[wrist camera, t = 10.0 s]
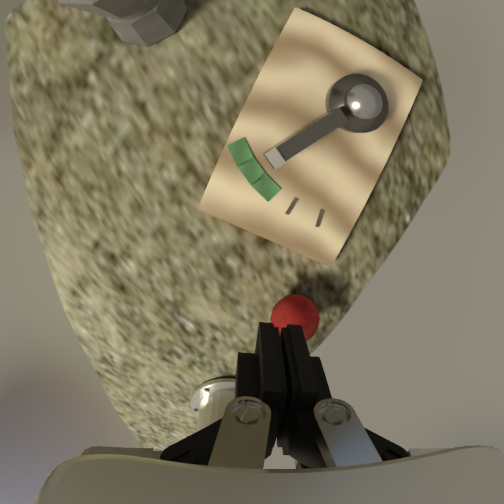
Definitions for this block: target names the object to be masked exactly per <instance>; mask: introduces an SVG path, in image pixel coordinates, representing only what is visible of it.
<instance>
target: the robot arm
mask: <svg viewBox="0 0 504 504" xmlns="http://www.w3.org/2000/svg"><path fill="white" fill-rule="evenodd" d="M190 404H191V409H192V412H193V414H194V415H195V416H196V418H198V420H197V426H196V432H195V433H194V434H192V435H190V436H188V437H186V438H184V439H183V440H181V441H179V442H177V443H175V444H173V445H171V446H169V447H168V448H166V449H165V450H164V451H153V448H120V447H118V448H117V447H103V446H96V447H90V448H88V449H86V450H85V451H84V452H83V453H82V454H81V456H77V457H72V458H70V459H67V460H65V461H63V462H61V463H60V464H58V465H57V466H56V467H55V468H54V470H53V471H52V472H51V473H50V475H49V476H48V477H47V479H46V481H45V482H44V484H43V486H42V487H41V489H40V491H39V493H38V495H37V497H36V499H35V501H34V504H504V452H503V451H501V450H500V449H497V448H494V447H490V446H480V445H476V446H462V447H455V448H443V449H409V450H408V451H405V449H403V448H402V447H400V446H398V445H396V444H395V443H393V442H390V441H389V440H387V439H385V438H383V437H381V436H379V435H377V434H375V433H373V432H371V431H370V430H368V429H366V428H364V427H363V425H362V423H361V422H360V420H359V418H358V416H357V414H356V412H355V411H354V409H353V408H352V407H351V405H349V404H348V403H346V402H344V401H342V400H339V399H332V397H331V394H330V390H329V386H328V383H327V380H326V377H325V373H324V370H323V367H322V363H321V360H320V358H319V357H310V355H309V351H308V347H307V343H306V340H305V336H304V332H303V329H302V326H301V325H295V324H287V326H286V327H282V329H281V334H280V335H279V328H278V327H274V324H273V323H265V322H259V327H258V334H257V342H256V349H255V354H253V353H240V352H238V358H237V368H236V379H233V378H220V379H214V380H211V381H208V382H205V383H203V384H202V385H200V386H199V387H198V388H196V390H195V391H194V392H193V394H192V397H191V403H190ZM276 437H277V446H278V447H282V448H283V455H290V456H291V457H293V458H294V459H296V460H295V467H296V469H263V466H264V460H265V459H266V458H267V457H268V456H270V455H271V452H272V449H273V447H274V444H275V441H276Z"/></svg>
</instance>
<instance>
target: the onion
mask: <svg viewBox="0 0 504 504" xmlns="http://www.w3.org/2000/svg"><path fill="white" fill-rule="evenodd" d="M270 319H271V323H273V324H274V327H278V328H279V335H280V334H281V329H282V327H286V326H287V324H295V325H301V326H302V329H303V332H304V336H305V340H306V341H307V340H308V339H310V338H312V336H313V335H314V333H315V332H316V330H317V328H318V324H319V319H320V318H319V314H318V309H317V307H316V306H315V305H314V303H313V302H312V301H311V300H310V299H309V298H307V297H305V296H303V295H296V294H293V295H288V296H286V297H284V298H283V299H281V300H280V301H278V303H277V304H276V305H275V306H274V307H273V311H272V315H271V318H270Z"/></svg>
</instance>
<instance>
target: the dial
mask: <svg viewBox="0 0 504 504" xmlns="http://www.w3.org/2000/svg"><path fill="white" fill-rule="evenodd" d="M325 105H326V110H327V113H325V114H323V115H322V116H320V117H319V118H317V119H315V120H314V121H312V122H311V123H309V124H307V125H306V126H304V127H303V128H301V129H300V130H298V131H296V132H295V133H293V134H292V135H290V136H289V137H287V138H286V139H284V140H283V141H281V142H280V143H278V144H276V145H275V146H273V147H272V148H270V149H269V150H267V151H266V152H264V153H263V155H264V156H265V158H266V159H267V161H268V162H269V163H270V165H271V166H272V168H273V169H275V170H276V169H278V168H279V167H281V166H282V165H284V164H285V163H286V162H285V161H287V160H289V159H290V158H292V157H293V156H295V155H296V154H298V153H299V152H301V151H302V150H304V149H305V148H307V147H308V146H310V145H312V144H313V143H315V142H316V141H318V140H319V139H321V138H322V137H324V136H326V135H327V134H329V133H330V132H332V131H334V130H335V129H337V128H338V127H339V128H341V129H342V130H344V131H347V132H351V133H368V132H372V131H374V130H376V129H378V128H379V127H380V126H381V125H382V124H383V123H384V121H385V120H386V117H387V114H388V109H389V105H388V99H387V96H386V93H385V91H384V89H383V88H382V87H381V85H380V84H379V83H378V82H377V81H376V80H374V79H373V78H371V77H369V76H367V75H363V74H349V75H346V76H344V77H342V78H341V79H339V80H338V81H336V82H335V83H333V84H332V85H331V87H330V88H329V90H328V92H327V94H326V100H325Z"/></svg>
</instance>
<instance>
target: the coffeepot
mask: <svg viewBox="0 0 504 504" xmlns="http://www.w3.org/2000/svg"><path fill="white" fill-rule="evenodd" d="M58 2H59V3H60V4H64V5H67V6H71V7H74V8H77V9H80V10H83V11H86V12H89V13H92V14H95V15H99V16H104V17H107V19H108V21H109V23H110V24H111V26H112V27H113V28H114V30H115V31H116V33H117V34H118V36H119V37H120V39H121V40H122V42H127V43H131V44H135V45H142V46H146V47H148V46H151V45H153V44H155V43H157V42H160V41H162V40H164V39H165V38H167V37H169V36H170V35H172V34H174V33H176V31H177V29H178V27H179V26H180V24H181V22H182V21H183V18H184V16H185V13H186V11H187V10H188V8H187V6H186V4H185V2H184V0H58Z"/></svg>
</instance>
